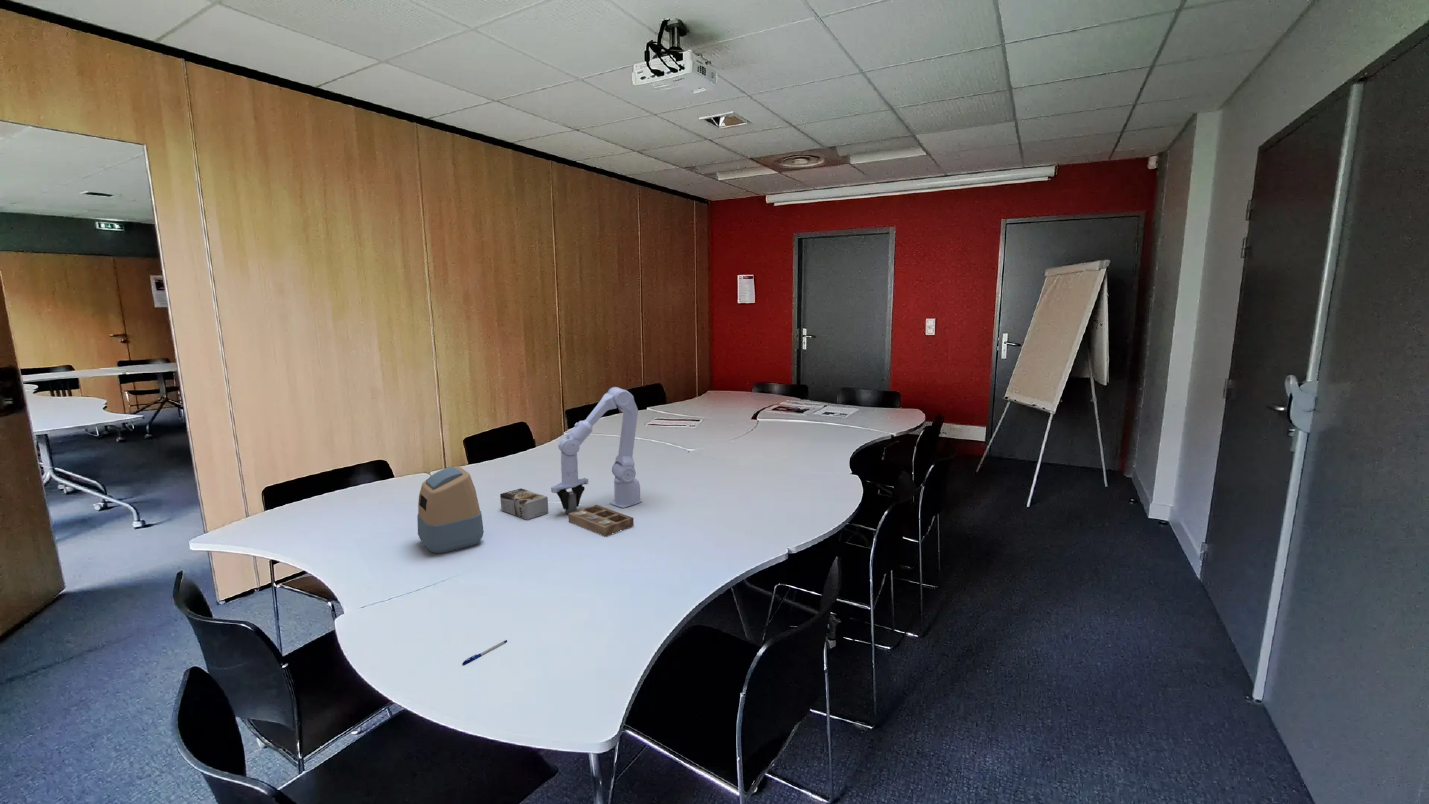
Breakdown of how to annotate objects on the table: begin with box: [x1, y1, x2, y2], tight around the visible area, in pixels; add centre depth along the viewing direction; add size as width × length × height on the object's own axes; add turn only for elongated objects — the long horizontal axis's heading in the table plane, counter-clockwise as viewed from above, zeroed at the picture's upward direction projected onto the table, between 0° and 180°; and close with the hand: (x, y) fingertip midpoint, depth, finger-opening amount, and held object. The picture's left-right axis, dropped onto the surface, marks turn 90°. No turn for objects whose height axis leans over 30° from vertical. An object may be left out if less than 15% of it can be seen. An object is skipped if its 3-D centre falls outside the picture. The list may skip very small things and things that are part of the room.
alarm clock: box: [416, 465, 485, 554], centre depth 177 cm, size 17×17×23 cm
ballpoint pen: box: [461, 639, 508, 666], centre depth 122 cm, size 10×1×1 cm, turn 146°
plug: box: [564, 490, 578, 515], centre depth 206 cm, size 4×4×8 cm
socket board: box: [567, 504, 635, 537], centre depth 195 cm, size 12×20×3 cm, turn 49°
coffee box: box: [499, 488, 549, 521], centre depth 206 cm, size 9×6×16 cm
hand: (570, 507), depth 206 cm, fingers closed on plug, 4 cm apart
